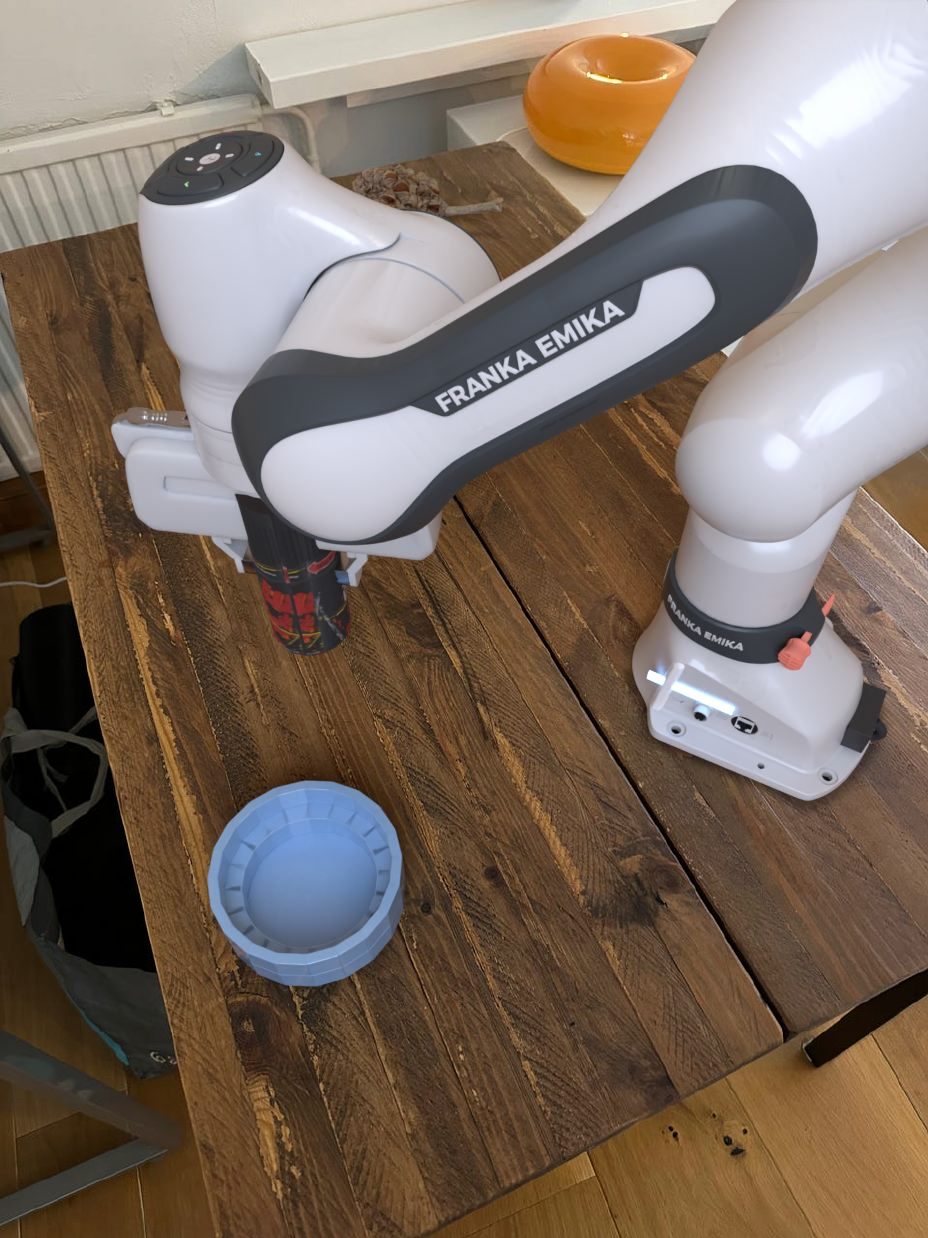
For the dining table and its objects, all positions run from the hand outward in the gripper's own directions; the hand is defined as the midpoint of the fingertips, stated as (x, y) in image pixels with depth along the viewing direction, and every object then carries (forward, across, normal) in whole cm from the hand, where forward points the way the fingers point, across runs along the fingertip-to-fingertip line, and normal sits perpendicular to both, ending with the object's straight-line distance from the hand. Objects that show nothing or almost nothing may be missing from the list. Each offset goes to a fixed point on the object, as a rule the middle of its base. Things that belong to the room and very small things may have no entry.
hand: (301, 572), depth 67 cm
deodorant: (+6, 0, 0) cm, 6 cm away
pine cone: (+23, -7, +83) cm, 86 cm away
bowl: (+23, +2, -15) cm, 27 cm away
